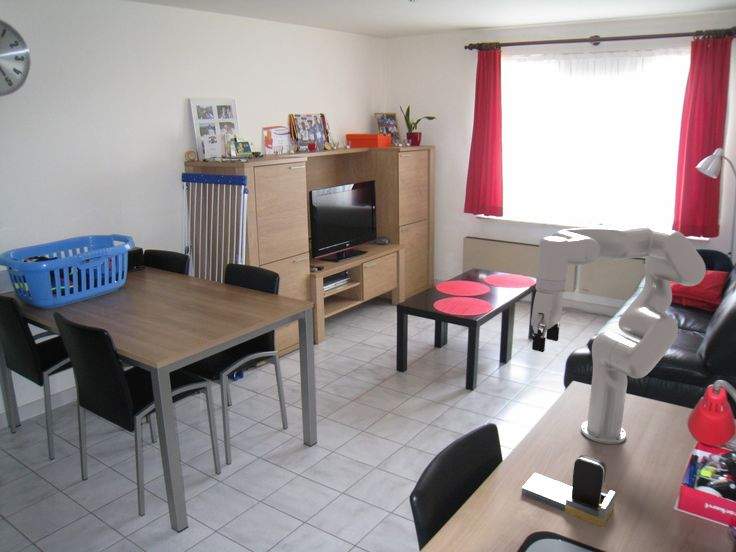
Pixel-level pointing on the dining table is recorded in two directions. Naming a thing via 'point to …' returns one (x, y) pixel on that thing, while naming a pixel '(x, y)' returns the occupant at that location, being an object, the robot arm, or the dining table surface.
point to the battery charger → (588, 480)
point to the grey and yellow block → (567, 499)
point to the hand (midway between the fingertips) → (545, 345)
